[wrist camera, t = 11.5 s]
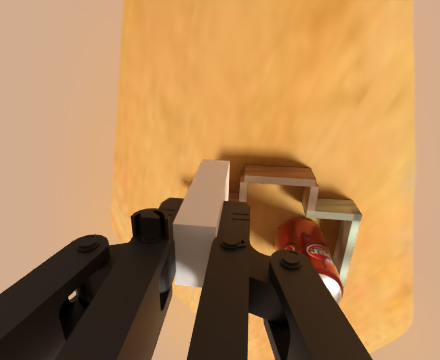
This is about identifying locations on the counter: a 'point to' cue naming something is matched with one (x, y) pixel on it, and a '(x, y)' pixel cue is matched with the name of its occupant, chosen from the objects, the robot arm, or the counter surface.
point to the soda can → (311, 250)
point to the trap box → (309, 205)
